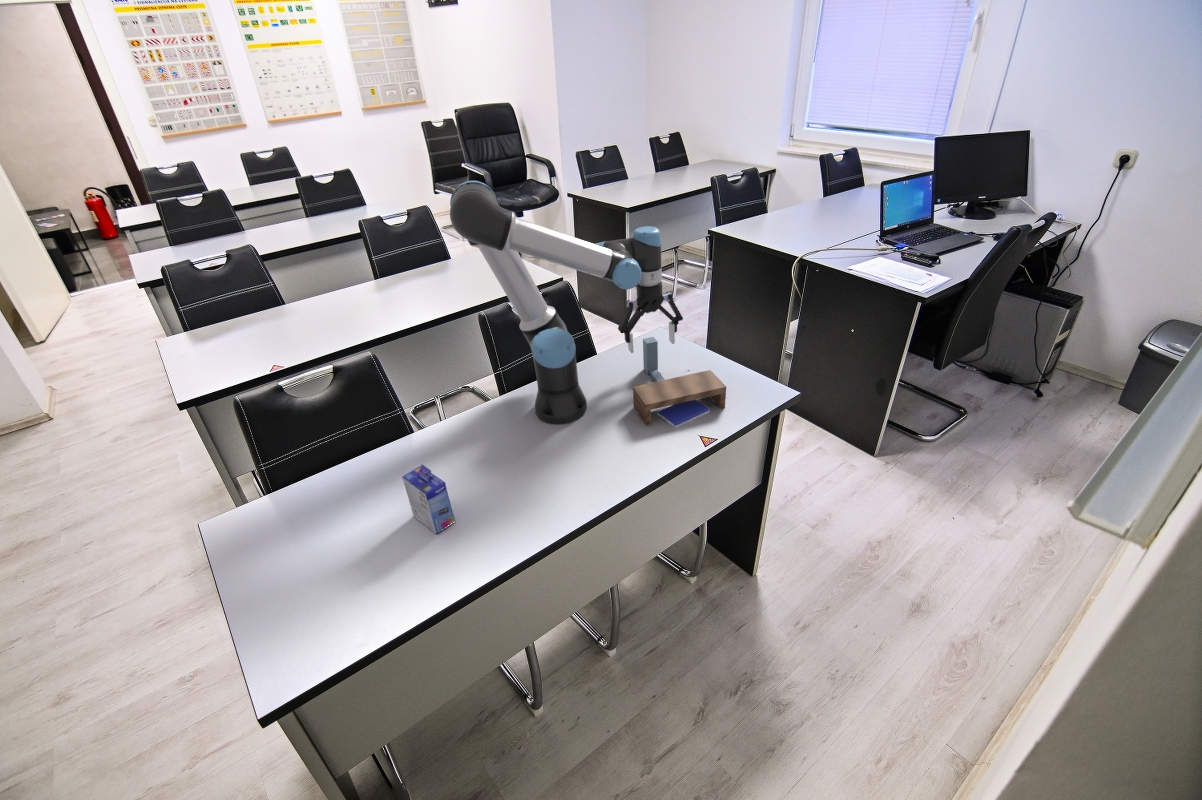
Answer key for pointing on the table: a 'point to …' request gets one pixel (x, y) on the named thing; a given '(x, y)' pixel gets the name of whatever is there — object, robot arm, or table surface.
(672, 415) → the blue flat slab
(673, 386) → the bench
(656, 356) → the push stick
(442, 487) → the ink cartridge box
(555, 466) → the table surface
